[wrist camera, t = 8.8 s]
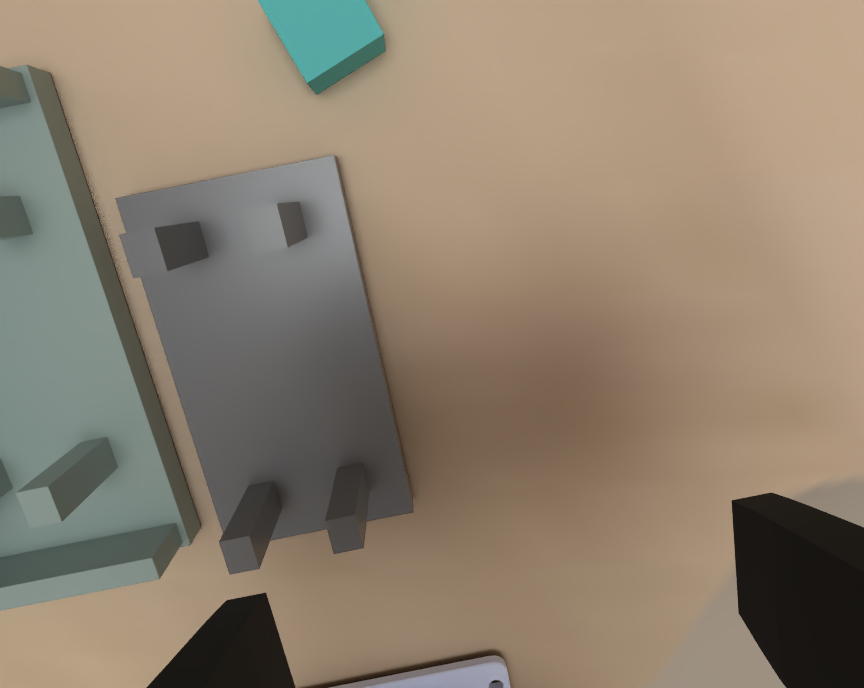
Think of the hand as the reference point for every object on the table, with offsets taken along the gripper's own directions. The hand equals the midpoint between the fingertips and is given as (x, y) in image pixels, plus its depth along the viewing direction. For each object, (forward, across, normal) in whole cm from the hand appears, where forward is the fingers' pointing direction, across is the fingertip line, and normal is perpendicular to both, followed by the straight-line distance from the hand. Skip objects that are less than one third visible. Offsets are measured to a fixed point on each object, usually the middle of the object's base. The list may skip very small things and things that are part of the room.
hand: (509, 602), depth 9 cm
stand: (+10, +5, -2) cm, 11 cm away
